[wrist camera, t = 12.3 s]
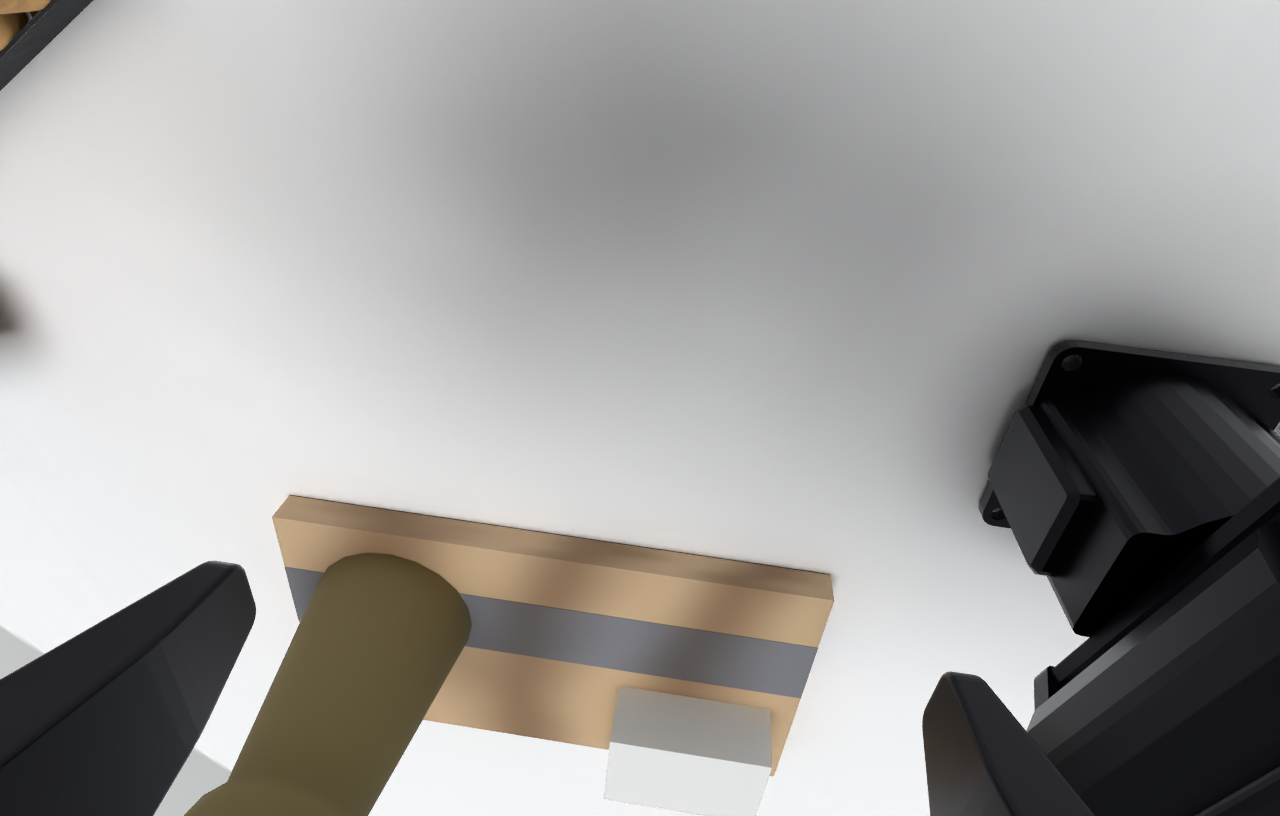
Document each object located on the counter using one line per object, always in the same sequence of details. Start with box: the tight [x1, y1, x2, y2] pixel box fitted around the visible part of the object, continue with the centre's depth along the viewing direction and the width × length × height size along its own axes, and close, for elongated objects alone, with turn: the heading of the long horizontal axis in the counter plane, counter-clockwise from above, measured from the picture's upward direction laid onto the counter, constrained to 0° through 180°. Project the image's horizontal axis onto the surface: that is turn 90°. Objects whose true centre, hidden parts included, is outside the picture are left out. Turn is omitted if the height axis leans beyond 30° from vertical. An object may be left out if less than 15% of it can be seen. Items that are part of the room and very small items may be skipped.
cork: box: [184, 553, 472, 816], centre depth 23 cm, size 6×6×11 cm
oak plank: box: [272, 495, 834, 776], centre depth 29 cm, size 20×11×1 cm, turn 85°
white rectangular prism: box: [604, 686, 772, 816], centre depth 29 cm, size 6×4×2 cm, turn 85°
